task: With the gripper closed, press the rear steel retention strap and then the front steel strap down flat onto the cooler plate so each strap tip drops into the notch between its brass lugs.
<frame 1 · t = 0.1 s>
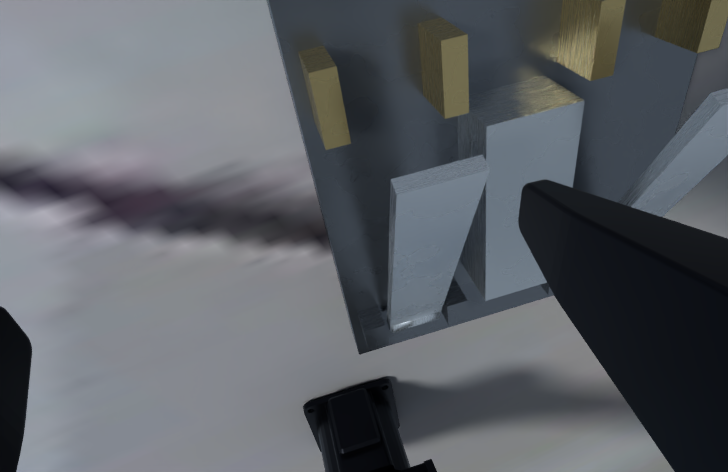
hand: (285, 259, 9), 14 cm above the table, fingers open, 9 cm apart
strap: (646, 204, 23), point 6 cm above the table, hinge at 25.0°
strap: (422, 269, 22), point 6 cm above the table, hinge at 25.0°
cooler plate: (490, 143, 26), on the table
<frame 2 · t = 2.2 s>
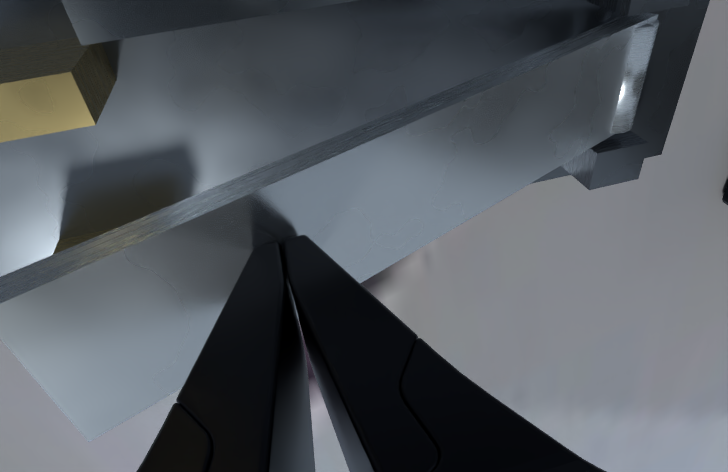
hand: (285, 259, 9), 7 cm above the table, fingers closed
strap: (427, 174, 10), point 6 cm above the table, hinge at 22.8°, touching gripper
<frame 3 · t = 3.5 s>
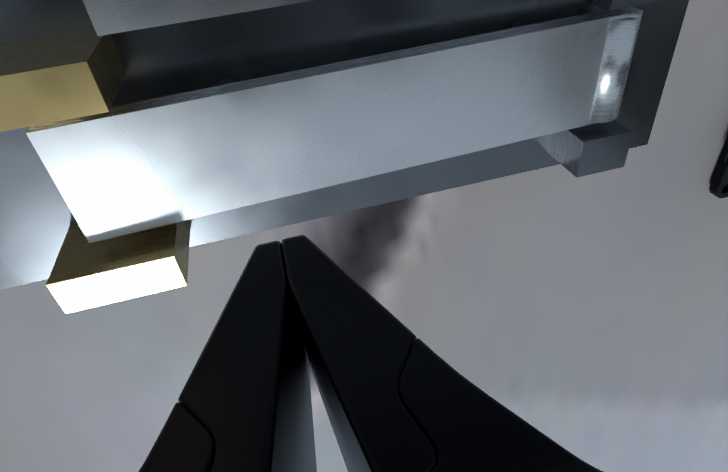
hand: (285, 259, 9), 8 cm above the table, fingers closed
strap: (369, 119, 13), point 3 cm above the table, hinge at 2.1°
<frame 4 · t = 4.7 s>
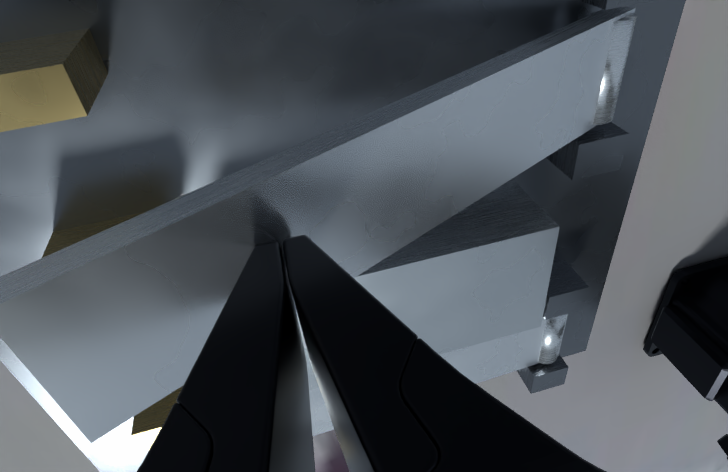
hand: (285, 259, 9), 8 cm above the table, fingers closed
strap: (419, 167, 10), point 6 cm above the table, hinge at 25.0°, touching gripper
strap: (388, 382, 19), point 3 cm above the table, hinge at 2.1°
cooler plate: (325, 220, 18), on the table
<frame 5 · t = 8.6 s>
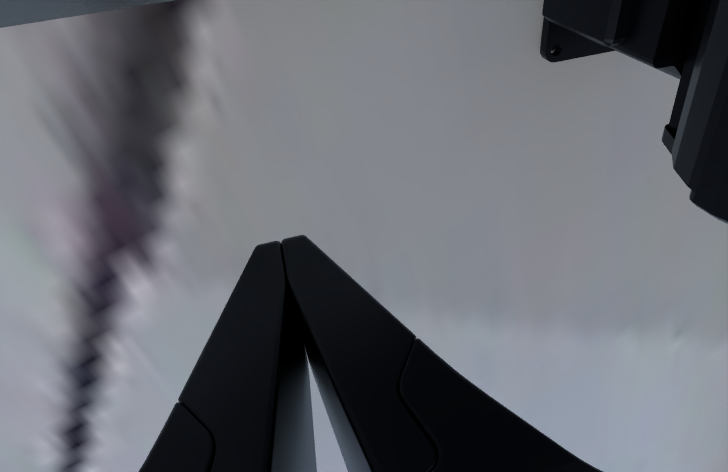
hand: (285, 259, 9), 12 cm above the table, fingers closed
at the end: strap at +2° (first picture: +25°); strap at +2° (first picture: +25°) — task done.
